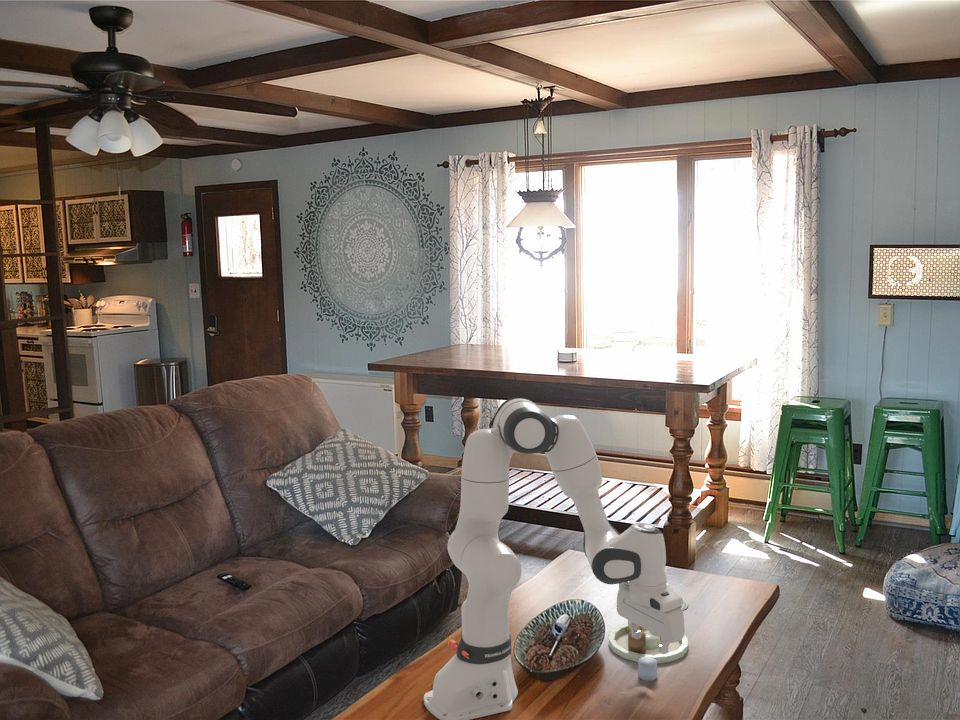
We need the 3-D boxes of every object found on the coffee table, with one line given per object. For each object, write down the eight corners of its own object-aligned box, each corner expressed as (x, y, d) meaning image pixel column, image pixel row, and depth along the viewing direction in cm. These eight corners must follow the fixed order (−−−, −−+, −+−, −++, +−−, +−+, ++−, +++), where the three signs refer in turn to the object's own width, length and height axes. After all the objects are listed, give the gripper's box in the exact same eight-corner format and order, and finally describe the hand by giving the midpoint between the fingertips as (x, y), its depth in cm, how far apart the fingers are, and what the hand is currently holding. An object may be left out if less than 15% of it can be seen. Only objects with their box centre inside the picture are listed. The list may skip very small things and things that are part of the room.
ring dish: (645, 675, 207) (645, 661, 206) (593, 644, 224) (593, 631, 223) (704, 653, 217) (704, 640, 216) (650, 624, 234) (650, 612, 234)
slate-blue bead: (647, 687, 202) (646, 667, 201) (634, 679, 205) (634, 660, 205) (660, 681, 204) (660, 662, 203) (648, 674, 208) (648, 655, 207)
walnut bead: (640, 658, 213) (640, 640, 212) (625, 654, 216) (624, 635, 215) (648, 652, 216) (648, 633, 216) (633, 647, 219) (633, 629, 218)
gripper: (609, 580, 209) (611, 632, 211) (668, 608, 191) (669, 665, 194) (629, 573, 212) (630, 625, 214) (688, 601, 195) (689, 657, 197)
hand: (649, 645), depth 204 cm, fingers open, 8 cm apart
